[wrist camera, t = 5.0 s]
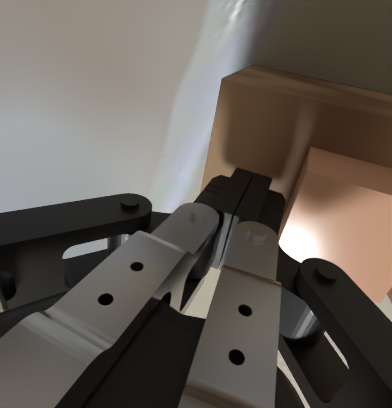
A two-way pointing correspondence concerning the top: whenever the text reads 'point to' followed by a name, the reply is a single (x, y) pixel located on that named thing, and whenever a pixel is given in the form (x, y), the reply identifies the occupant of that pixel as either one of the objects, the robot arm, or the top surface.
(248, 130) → the brown block
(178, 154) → the top surface
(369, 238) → the tile
